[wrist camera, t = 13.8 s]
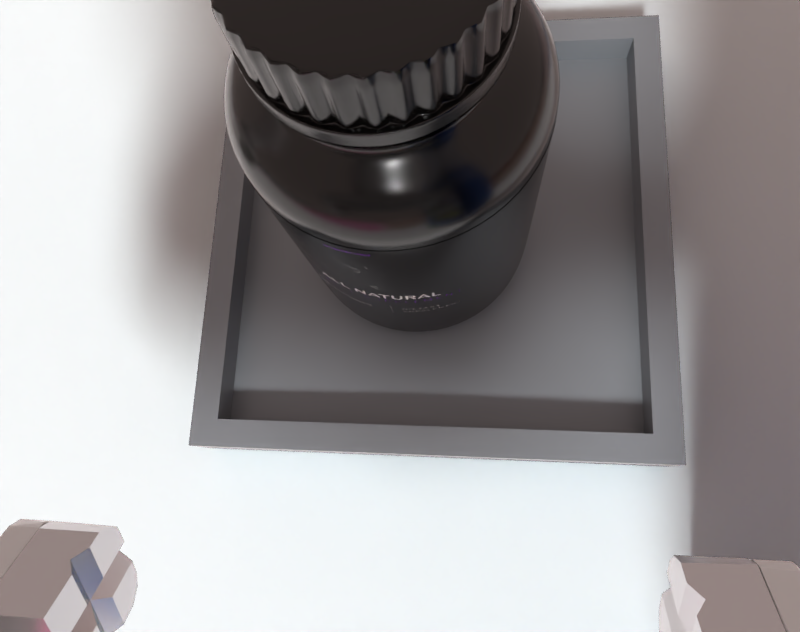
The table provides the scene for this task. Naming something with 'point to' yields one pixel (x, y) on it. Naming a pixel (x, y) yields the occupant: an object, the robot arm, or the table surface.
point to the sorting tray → (489, 329)
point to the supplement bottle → (396, 142)
